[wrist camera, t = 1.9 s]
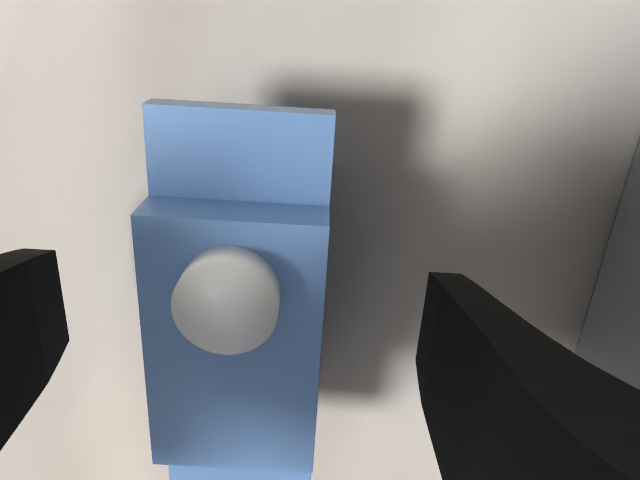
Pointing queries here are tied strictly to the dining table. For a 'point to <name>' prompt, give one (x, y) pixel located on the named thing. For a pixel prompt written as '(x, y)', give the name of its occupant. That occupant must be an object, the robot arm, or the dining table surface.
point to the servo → (233, 285)
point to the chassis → (618, 293)
